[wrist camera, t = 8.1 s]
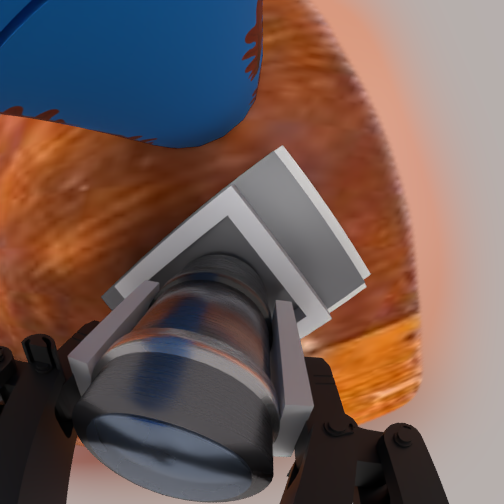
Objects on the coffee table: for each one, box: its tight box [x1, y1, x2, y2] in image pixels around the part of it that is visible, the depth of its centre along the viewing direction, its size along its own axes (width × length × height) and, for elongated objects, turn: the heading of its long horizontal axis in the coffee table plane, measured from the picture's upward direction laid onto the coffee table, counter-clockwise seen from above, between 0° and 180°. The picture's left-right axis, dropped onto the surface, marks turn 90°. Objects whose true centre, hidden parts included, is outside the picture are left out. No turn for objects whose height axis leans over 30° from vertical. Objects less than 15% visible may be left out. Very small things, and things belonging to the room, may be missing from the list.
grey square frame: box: [101, 145, 370, 339], centre depth 17 cm, size 15×10×7 cm, turn 128°
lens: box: [72, 255, 280, 502], centre depth 9 cm, size 6×6×10 cm
